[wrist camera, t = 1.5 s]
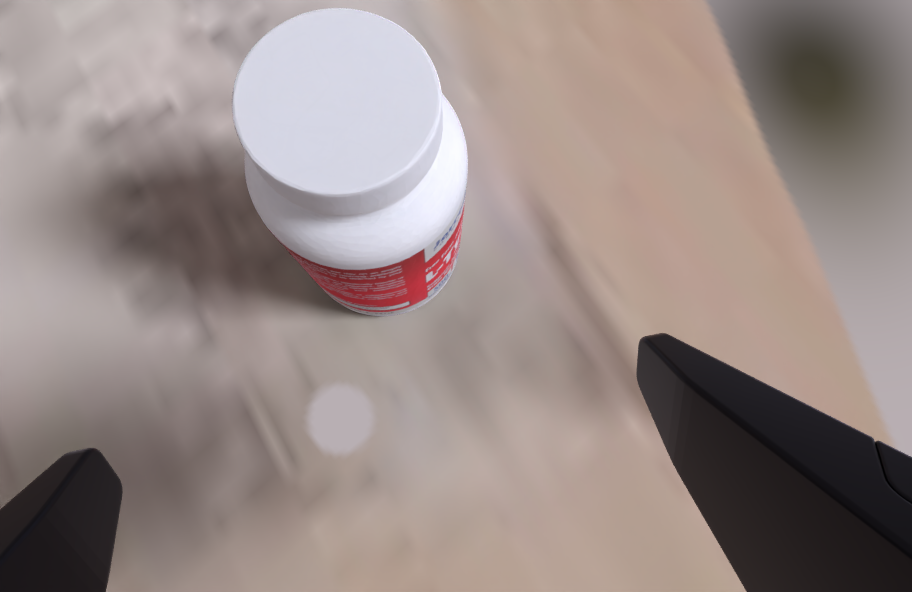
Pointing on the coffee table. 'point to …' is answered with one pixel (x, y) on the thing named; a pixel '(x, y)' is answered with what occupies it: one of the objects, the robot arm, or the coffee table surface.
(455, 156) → the pill bottle
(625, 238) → the coffee table surface
